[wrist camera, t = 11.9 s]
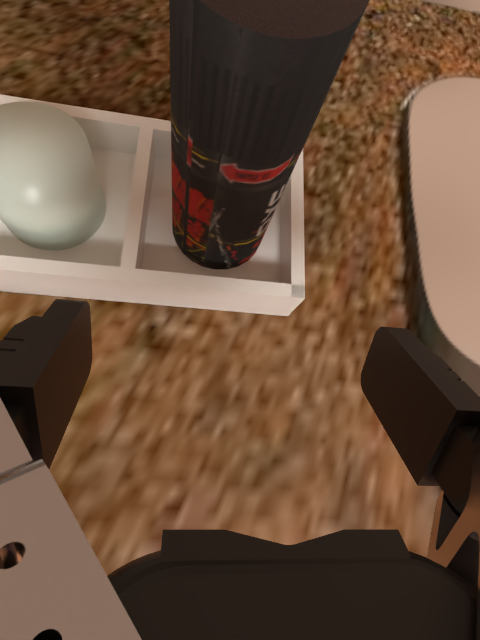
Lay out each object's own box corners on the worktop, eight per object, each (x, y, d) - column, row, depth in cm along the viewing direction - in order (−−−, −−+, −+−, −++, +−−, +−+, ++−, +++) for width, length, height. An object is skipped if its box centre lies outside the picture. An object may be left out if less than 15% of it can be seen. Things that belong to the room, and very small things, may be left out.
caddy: (-43, 287, 22) (-118, 237, 17) (-1, 134, 26) (-51, 49, 20) (287, 316, 25) (320, 281, 20) (287, 175, 28) (316, 111, 23)
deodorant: (190, 177, 26) (208, -136, 12) (272, 208, 26) (387, -59, 12) (158, 250, 24) (133, -17, 10) (246, 282, 24) (347, 70, 10)
